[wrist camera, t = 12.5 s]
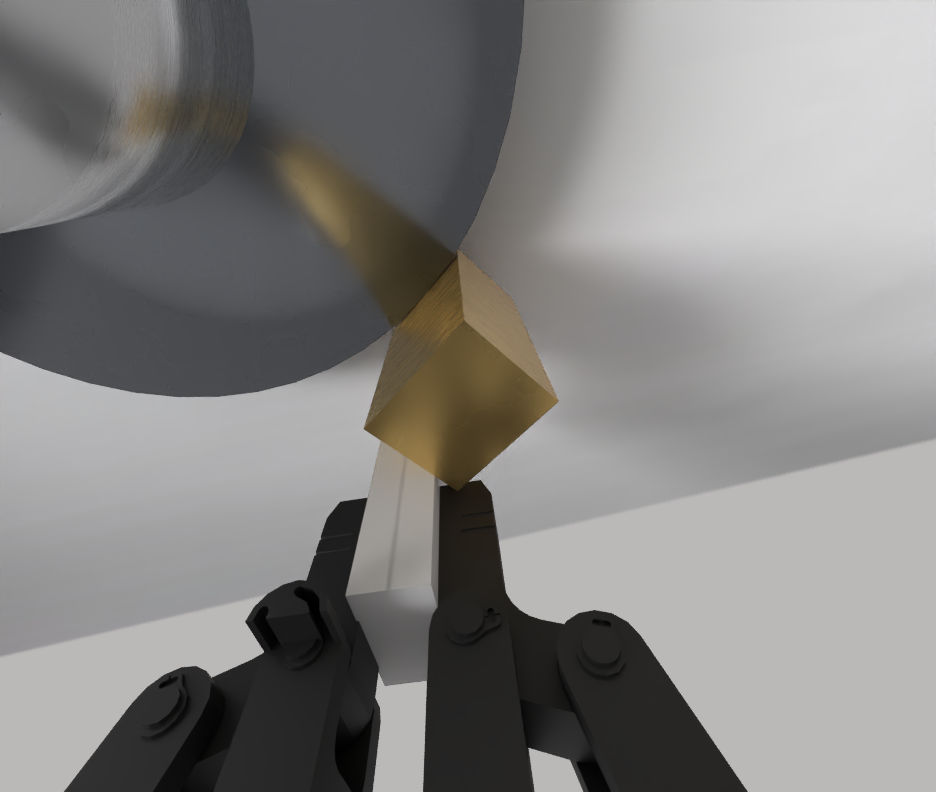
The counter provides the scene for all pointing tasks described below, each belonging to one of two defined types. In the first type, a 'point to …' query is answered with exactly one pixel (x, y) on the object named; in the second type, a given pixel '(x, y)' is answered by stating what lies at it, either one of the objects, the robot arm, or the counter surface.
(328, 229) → the turntable
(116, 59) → the cover
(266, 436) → the counter surface
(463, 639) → the robot arm
